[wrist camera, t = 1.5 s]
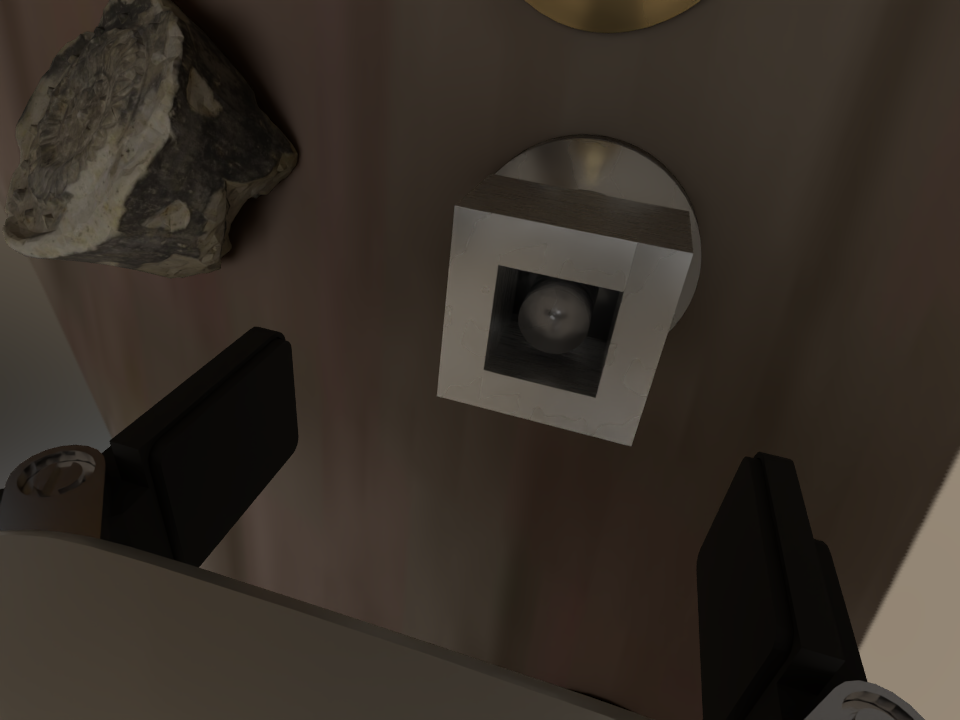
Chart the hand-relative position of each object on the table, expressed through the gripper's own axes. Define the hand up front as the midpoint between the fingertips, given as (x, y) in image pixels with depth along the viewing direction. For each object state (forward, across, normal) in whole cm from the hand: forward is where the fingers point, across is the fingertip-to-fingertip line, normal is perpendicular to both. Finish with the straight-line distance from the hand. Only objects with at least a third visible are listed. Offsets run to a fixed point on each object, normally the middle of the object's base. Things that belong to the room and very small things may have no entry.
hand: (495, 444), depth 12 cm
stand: (+13, 0, +1) cm, 13 cm away
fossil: (+14, +17, -1) cm, 22 cm away
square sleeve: (+10, 0, +1) cm, 10 cm away
